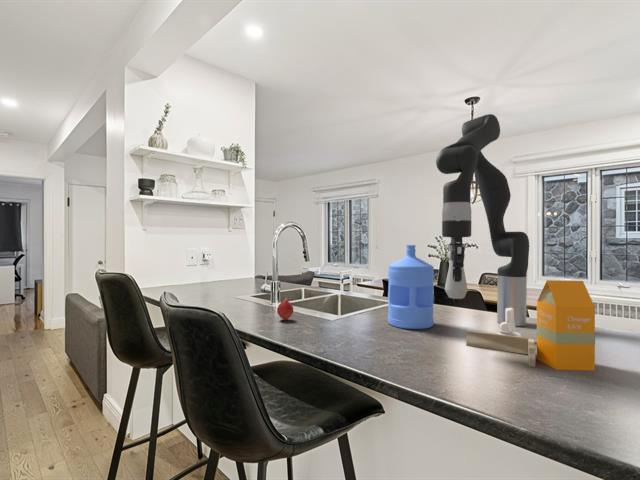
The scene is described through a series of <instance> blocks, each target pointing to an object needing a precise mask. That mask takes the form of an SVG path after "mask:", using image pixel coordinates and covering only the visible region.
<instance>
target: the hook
mask: <svg viewBox="0 0 640 480" xmlns="http://www.w3.org/2000/svg"><path fill="white" fill-rule="evenodd" d="M505 316H506V322H502V323H501V324H500V323H499V328H500V331H498V332H497V333H496V334H502V335H510V336H518V337H524V335H523V334H522V333H520V332H516V331H515V330H516V326H515V324H514V309H513V308H506V309H505Z"/></svg>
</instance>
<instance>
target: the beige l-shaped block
mask: <svg viewBox="0 0 640 480" xmlns="http://www.w3.org/2000/svg"><path fill="white" fill-rule="evenodd" d="M465 335H466V336H465V343H466V344H465V345H466V346H469V347H474V348H482V349H489V350H497V351H501V352H502V351H503V352H511V353H517V354H522V355H523V354H526V355H528V367H533V368H536V346H535V345H536V344H535V340H534V338H533V337H525V336H523V337H518V336H510V335H502V334H497V333H493V332H483V331H476V330H469V329H468V330H467V329H466V332H465Z"/></svg>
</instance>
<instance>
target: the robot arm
mask: <svg viewBox="0 0 640 480" xmlns="http://www.w3.org/2000/svg"><path fill="white" fill-rule="evenodd" d="M461 134H462V136H461V137H460V138H459V139H458V140H457V141H456V142H455V143H451V144H449V145H447V146H445V147H444V148H442V149H441V150H439V152H438V153H437V156H436V161H435V163H436V164H435V165H436V168H437V170H438V171H439V172H440V173H441V174H443V175H451V174H459V173H460V175H459V177H458V178H455V179H454V180H451V181H448V182H446V183H445V184H444V185H443V190H442V193H443V194H442V195H443V198H442V202H443V203H442V211H441V212H442V213H441V235H442V237H443V238H450V243H448V244H447V249H448V252H449V251H450V259H449V261H450V260H451V261H452V269H454V270H453V279H454V275H455V281H456V282H460V279H461V281H462V268H463V267H464V266H465V265H464V262H465V257H464V254H465V251H466V244H465V243H463V238H470V237H471V236H472V207H471V204H472V203H471V191H472V189H471V187H472V183H473V178H474V175H475V178H476V183H477V186H478V190H479V191H478V192H479V194H480V197H481V201H482V203H483V207H484V211H485V215H486V218H487V223H488V230H489V235H490V241H491V245H492V246H491V247H492V250H493V252H494V254H495V255H497V256H498V257H502V258H511V260H510V261H509V263H507V264H506V265H503V266H499V267H498V268H497V281H496V282H497V290H496V291H497V295H496V296H497V305H496V306H497V307H496V308H497V309H496V310H497V311H496V314H497V315H496V322H497V323H498V324H499V325H500V324H501V323H502V322H506V316H505V309H506V308H513V309H514V324H515V327H526V326H527V286H528V285H527V284H528V283H527V276H528V275H527V272H528V268H529V256H530V239H529V236H528V235H527V233H526V232H524V231H506V228H505V224H504V223H505V222H504V217H505V213H506V211H507V209H508V206H509V204H510V201H511V197H512V195H511V188H510V186H509V183H508V178H507V177H506V175H505V174H504V173H503V172H502V171H501V170H500V169H499V168H497V167H496V166H495V165H493V164H492V163H491V162H490V161H489V160H488V159H487V158H486V157H485V156H484V154H483V152H482V150H483V149H484V148H485V147H487V146H489V145H490V144H491V143H493V142H495V141H496V140H498V139H499V137H500V135H501V126H500V122H499V119H498V117H497V116H496V115H494V114H493V113H491V114H489V113H488V114H485V115H481V116H479V117H475V118H473V119H470V120H467V121H465V122H464V123H462V126H461ZM453 255H454V257H453ZM456 261H460V263H456ZM457 278H458V279H457Z"/></svg>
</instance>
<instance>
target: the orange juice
mask: <svg viewBox="0 0 640 480" xmlns="http://www.w3.org/2000/svg"><path fill="white" fill-rule="evenodd" d="M595 325H596V306H595V304H594V301H593V300H592V297H591V295H590V293H589V292H588V289H587V287H586V285H585V283H584V281H583V280H552V279H551V280H546V281H545V284H544V286H543V288H542V290H541V293H540V294H539V296H538V299H537V300H536V360H538V361H540V363H541V362H542V363H543V364H545V365H546V366H548V367H550V368H552V369H554V370H557V371H559V370H561V371H563V370H565V371H596V370H595V369H596V367H595V366H596V365H595V364H596V363H595V362H596V360H595V359H596V358H595V357H596V353H595V352H596V351H595V350H596V347H595V346H596V326H595Z"/></svg>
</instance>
